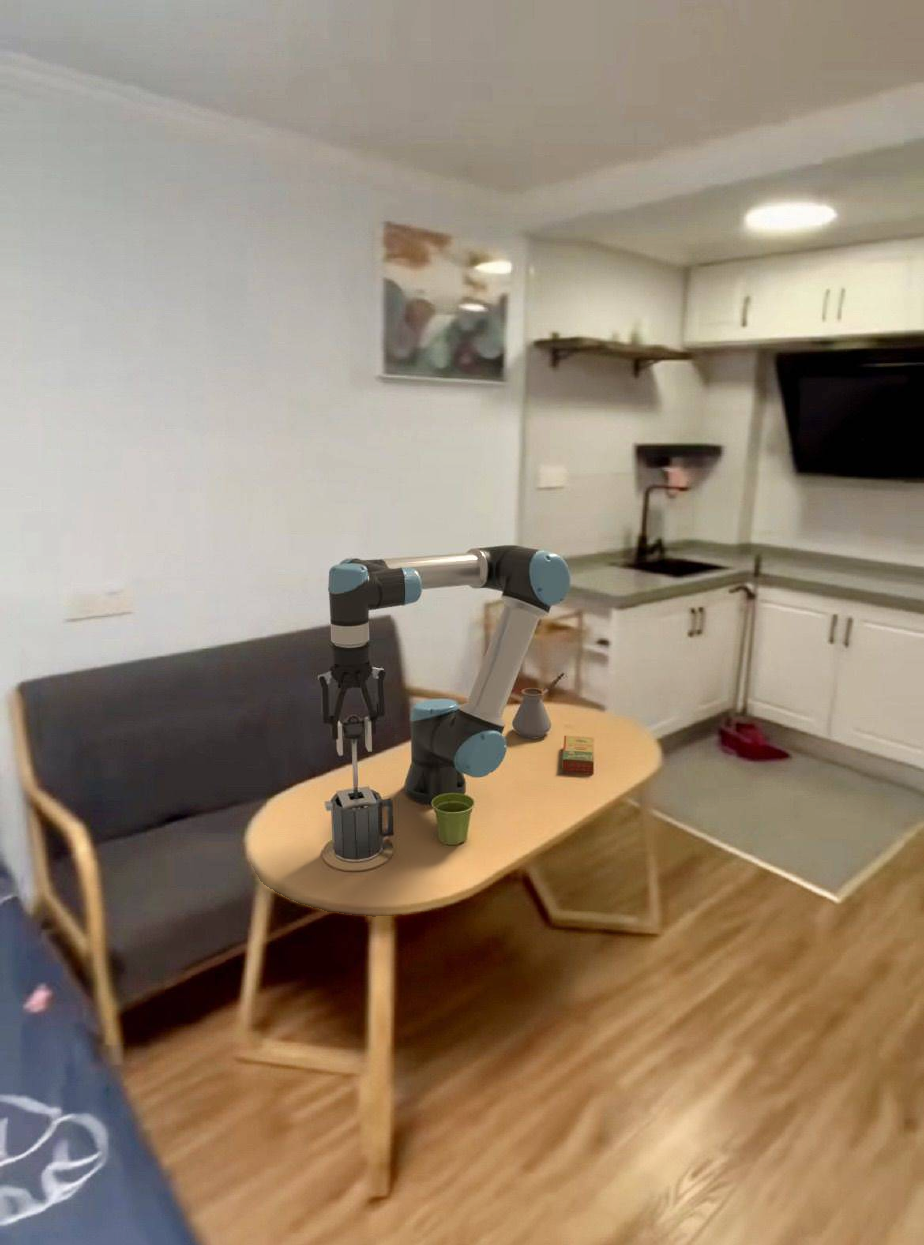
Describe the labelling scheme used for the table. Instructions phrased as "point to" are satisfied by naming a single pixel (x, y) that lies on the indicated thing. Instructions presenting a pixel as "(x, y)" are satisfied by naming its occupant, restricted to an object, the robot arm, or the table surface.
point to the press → (359, 831)
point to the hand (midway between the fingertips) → (354, 750)
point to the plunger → (354, 746)
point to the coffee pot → (533, 713)
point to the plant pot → (453, 816)
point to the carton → (578, 755)
